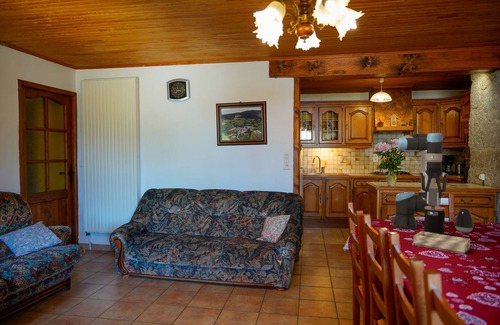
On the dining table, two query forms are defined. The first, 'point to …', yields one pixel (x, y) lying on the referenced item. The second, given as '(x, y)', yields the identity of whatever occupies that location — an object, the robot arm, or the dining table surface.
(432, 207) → the metal peg
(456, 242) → the keyhole plate
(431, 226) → the coffee jar
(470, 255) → the dining table surface
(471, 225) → the dark grey egg shape
